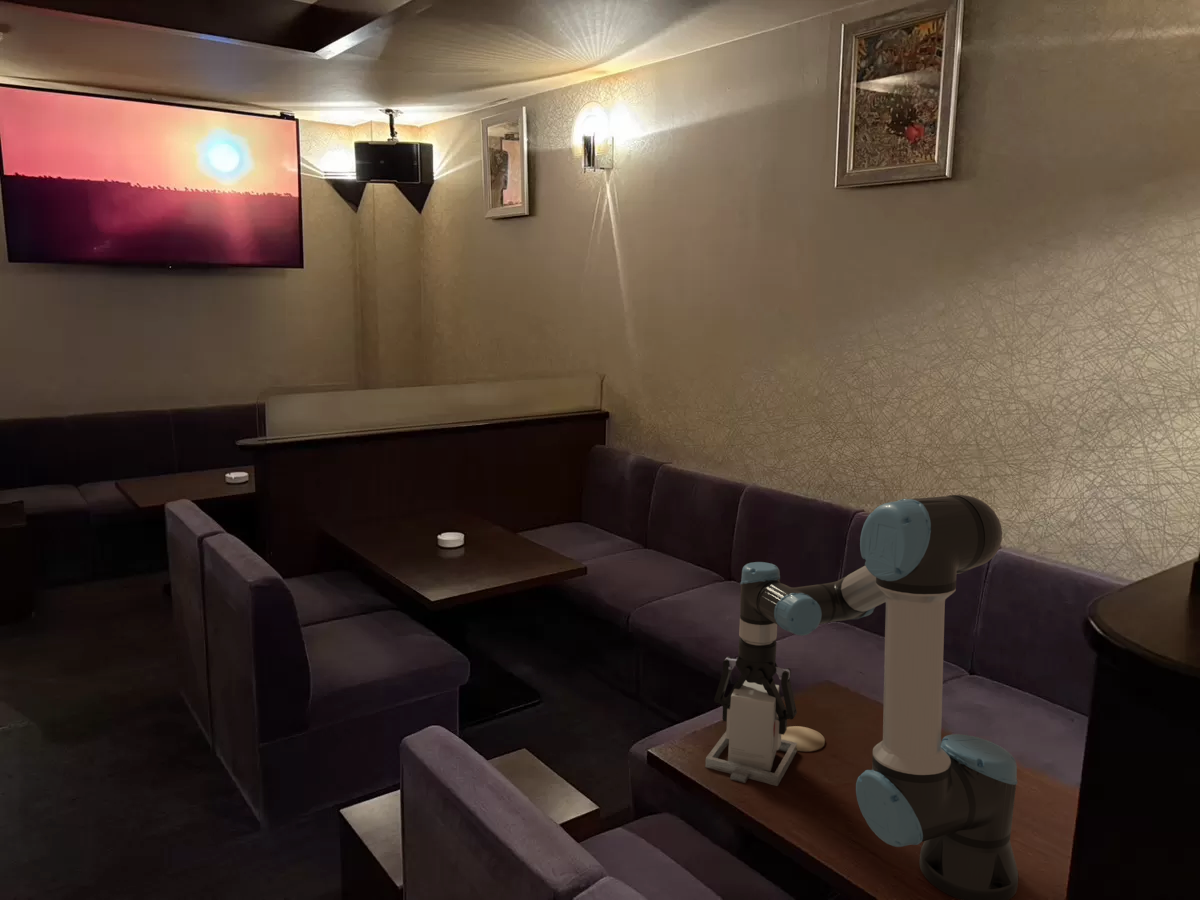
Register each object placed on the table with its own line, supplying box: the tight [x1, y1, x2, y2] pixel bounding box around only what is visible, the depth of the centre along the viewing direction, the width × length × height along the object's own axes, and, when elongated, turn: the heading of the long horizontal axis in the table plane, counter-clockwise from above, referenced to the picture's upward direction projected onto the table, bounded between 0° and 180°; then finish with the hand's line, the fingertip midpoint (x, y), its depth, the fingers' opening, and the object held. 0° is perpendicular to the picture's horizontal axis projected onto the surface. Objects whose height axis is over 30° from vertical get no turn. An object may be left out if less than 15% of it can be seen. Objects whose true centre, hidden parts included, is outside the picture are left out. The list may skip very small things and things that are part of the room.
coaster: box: [781, 725, 826, 753], centre depth 190 cm, size 10×10×1 cm
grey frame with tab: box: [704, 731, 798, 787], centre depth 182 cm, size 19×15×2 cm
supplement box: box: [727, 681, 780, 772], centre depth 181 cm, size 9×9×15 cm
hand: (753, 741), depth 181 cm, fingers closed on supplement box, 9 cm apart
